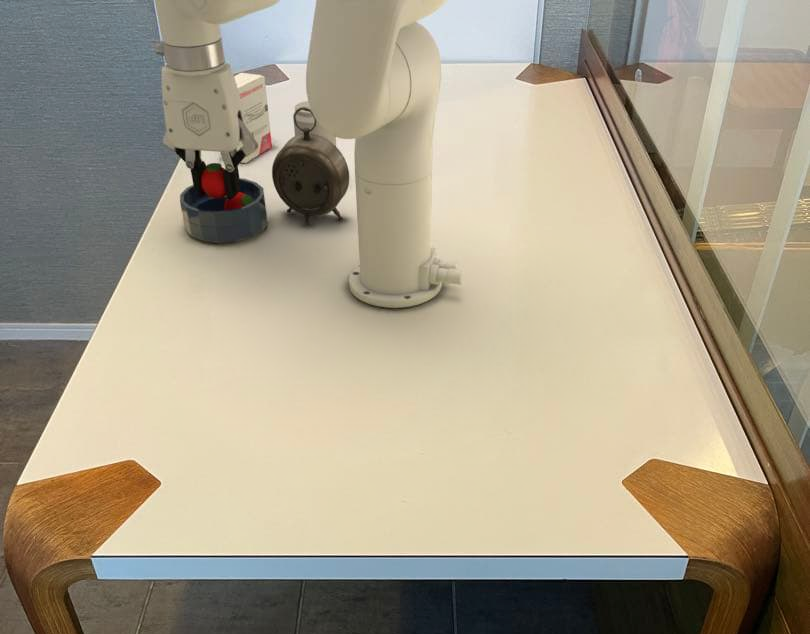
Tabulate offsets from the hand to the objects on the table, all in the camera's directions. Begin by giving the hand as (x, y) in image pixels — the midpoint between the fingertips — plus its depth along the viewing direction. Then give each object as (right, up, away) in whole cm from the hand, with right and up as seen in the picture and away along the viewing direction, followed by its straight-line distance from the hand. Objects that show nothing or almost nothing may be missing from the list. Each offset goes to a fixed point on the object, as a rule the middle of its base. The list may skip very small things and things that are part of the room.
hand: (218, 193), depth 124 cm
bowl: (0, -3, +5) cm, 6 cm away
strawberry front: (+1, -1, +5) cm, 5 cm away
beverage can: (+13, +8, +16) cm, 22 cm away
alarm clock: (+13, -1, +7) cm, 15 cm away
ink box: (0, +17, +26) cm, 31 cm away
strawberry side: (0, 0, 0) cm, 1 cm away
